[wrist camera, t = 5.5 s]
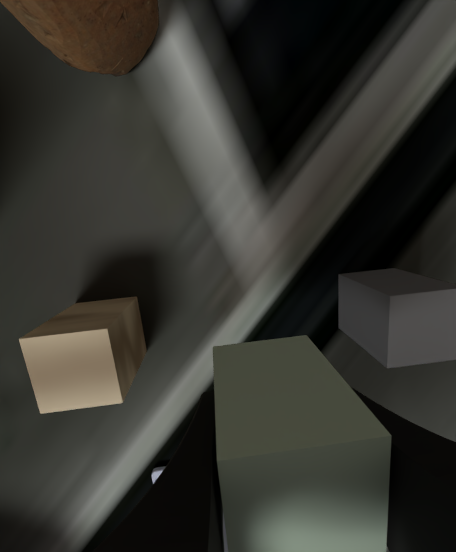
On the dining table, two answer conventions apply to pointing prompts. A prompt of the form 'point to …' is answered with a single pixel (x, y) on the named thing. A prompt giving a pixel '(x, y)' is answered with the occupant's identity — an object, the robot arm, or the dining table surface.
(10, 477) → the dining table surface
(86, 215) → the dining table surface
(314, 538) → the sage block
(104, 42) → the brown rough elongated lump
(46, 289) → the dining table surface
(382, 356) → the charcoal block
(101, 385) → the beech block
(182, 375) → the dining table surface
